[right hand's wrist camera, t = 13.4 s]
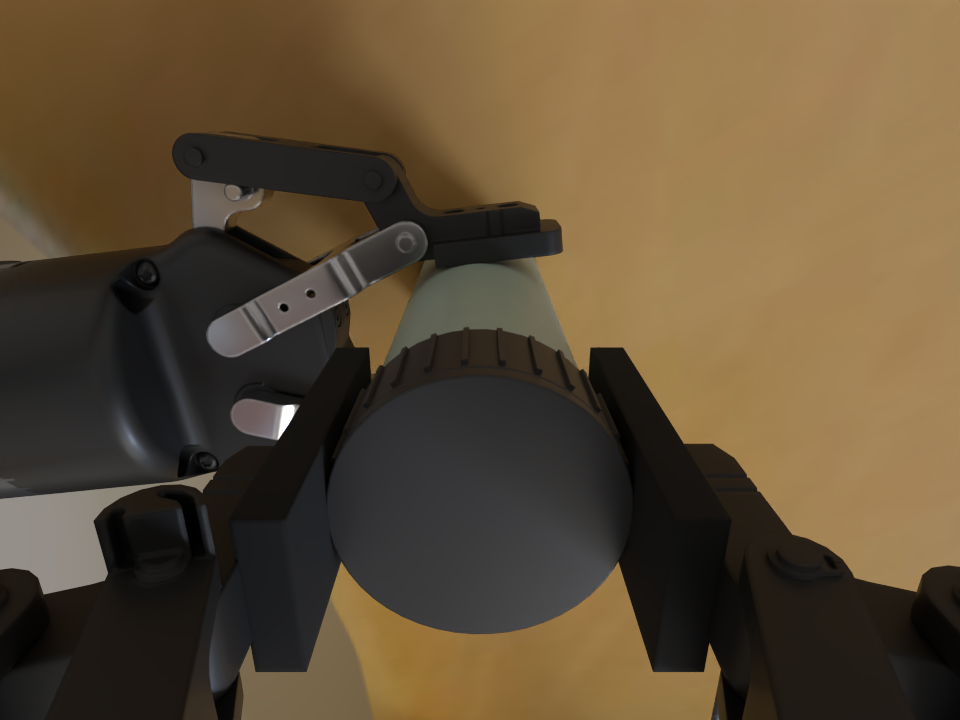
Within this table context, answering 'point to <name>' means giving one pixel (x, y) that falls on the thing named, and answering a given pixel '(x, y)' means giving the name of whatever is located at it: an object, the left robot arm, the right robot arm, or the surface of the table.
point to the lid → (479, 484)
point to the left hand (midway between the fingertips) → (562, 322)
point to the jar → (480, 304)
